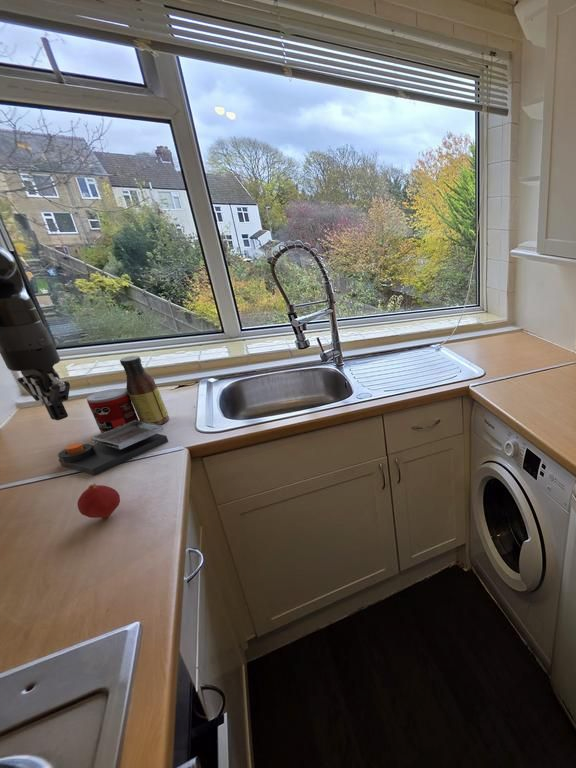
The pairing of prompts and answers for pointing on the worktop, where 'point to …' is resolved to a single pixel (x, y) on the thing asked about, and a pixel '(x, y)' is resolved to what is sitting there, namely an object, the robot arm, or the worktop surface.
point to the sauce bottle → (143, 392)
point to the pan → (127, 434)
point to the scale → (107, 455)
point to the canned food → (111, 408)
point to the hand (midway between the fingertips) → (60, 418)
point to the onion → (98, 501)
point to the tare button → (74, 448)
